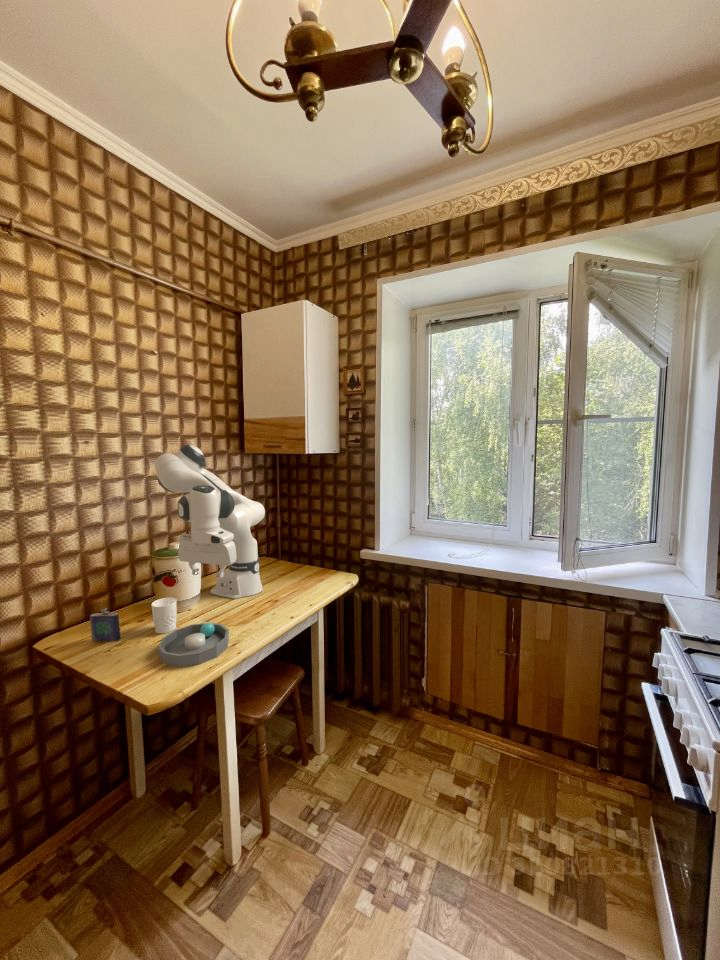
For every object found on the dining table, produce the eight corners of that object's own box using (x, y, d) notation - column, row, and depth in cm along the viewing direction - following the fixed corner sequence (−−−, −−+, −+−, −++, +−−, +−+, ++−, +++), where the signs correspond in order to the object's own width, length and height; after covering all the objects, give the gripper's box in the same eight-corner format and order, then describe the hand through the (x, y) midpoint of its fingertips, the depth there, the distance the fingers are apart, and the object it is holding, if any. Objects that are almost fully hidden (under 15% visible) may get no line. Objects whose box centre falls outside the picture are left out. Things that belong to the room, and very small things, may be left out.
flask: (90, 642, 127) (87, 611, 126) (96, 637, 130) (93, 607, 129) (117, 641, 127) (115, 610, 126) (123, 637, 130) (121, 606, 129)
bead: (197, 638, 126) (196, 625, 126) (206, 631, 130) (206, 619, 130) (208, 640, 125) (208, 627, 124) (217, 633, 129) (217, 621, 129)
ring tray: (144, 661, 115) (143, 650, 115) (191, 629, 134) (190, 620, 134) (200, 671, 110) (200, 659, 109) (240, 636, 129) (240, 626, 128)
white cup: (161, 623, 139) (159, 597, 138) (182, 624, 139) (180, 597, 138) (148, 634, 131) (146, 606, 130) (170, 635, 131) (168, 606, 130)
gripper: (172, 535, 126) (174, 576, 127) (226, 539, 120) (228, 581, 122) (185, 530, 132) (188, 569, 133) (238, 534, 126) (239, 574, 128)
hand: (207, 575), depth 127 cm, fingers open, 8 cm apart
